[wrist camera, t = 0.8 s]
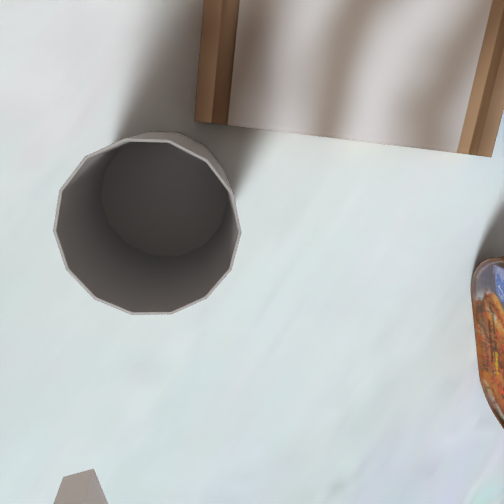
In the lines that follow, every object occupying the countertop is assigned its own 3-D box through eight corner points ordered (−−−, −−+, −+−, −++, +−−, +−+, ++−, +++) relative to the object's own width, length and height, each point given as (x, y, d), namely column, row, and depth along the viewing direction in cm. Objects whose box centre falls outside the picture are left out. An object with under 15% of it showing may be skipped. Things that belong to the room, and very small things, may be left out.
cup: (238, 242, 32) (254, 296, 22) (122, 267, 32) (87, 332, 22) (213, 118, 29) (218, 119, 20) (85, 144, 29) (28, 157, 19)
